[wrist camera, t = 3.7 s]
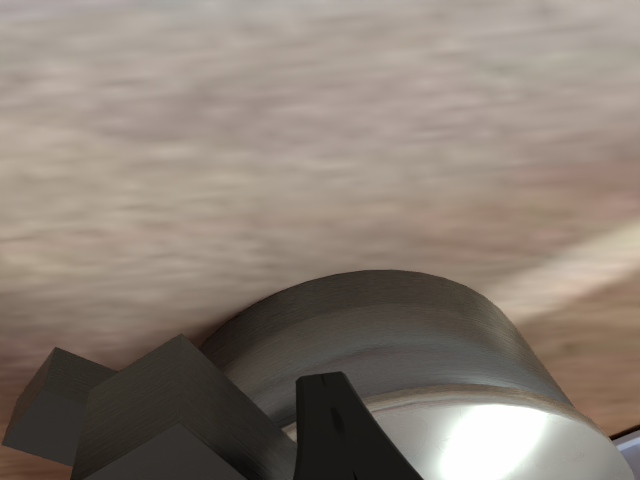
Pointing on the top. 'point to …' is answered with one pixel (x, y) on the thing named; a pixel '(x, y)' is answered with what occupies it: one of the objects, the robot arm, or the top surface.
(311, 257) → the top surface
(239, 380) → the cooker pot
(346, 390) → the robot arm
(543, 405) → the cooker lid
